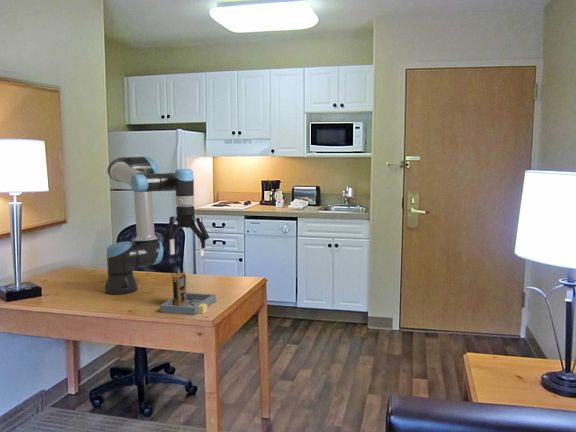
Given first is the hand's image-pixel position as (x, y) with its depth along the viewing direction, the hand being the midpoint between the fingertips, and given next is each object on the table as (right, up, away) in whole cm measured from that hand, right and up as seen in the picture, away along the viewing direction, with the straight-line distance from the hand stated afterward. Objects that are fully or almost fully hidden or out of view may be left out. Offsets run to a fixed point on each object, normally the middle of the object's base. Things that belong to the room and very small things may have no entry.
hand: (186, 255), depth 219 cm
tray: (+2, -22, +2) cm, 23 cm away
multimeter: (0, -22, +4) cm, 22 cm away
